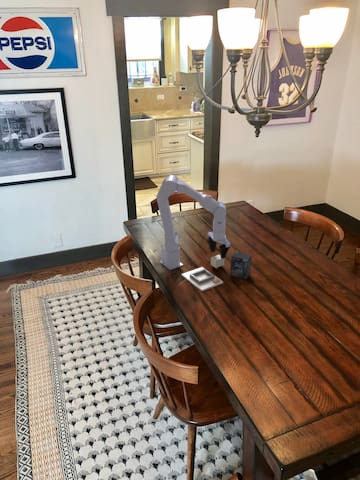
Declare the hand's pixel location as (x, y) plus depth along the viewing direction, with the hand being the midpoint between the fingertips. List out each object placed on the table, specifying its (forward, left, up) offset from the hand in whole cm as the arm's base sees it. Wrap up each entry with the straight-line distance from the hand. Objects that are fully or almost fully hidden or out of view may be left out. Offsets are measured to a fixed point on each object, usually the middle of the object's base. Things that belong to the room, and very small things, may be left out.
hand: (218, 254), depth 177 cm
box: (+12, +4, -7) cm, 14 cm away
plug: (0, 0, -7) cm, 7 cm away
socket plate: (+5, -13, -7) cm, 15 cm away
